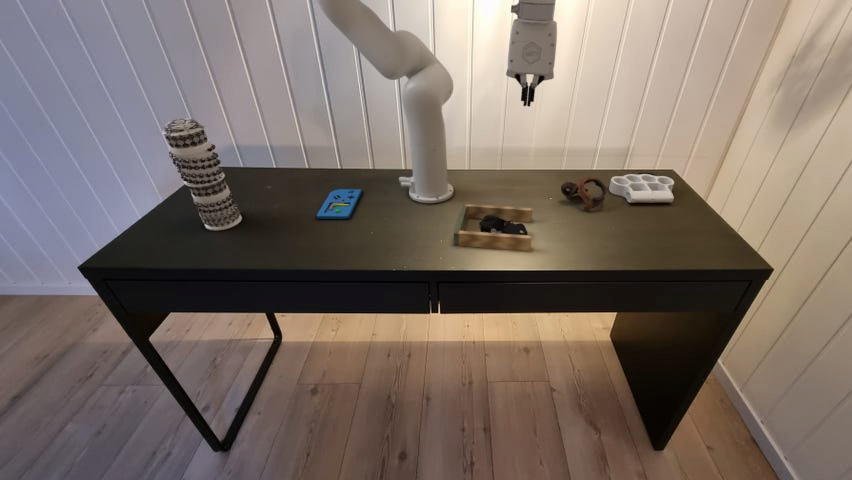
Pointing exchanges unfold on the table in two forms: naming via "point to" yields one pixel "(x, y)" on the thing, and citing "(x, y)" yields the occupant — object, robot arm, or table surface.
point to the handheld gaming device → (339, 204)
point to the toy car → (501, 226)
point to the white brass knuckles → (643, 188)
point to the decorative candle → (202, 173)
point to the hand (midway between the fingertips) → (527, 104)
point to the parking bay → (492, 238)
